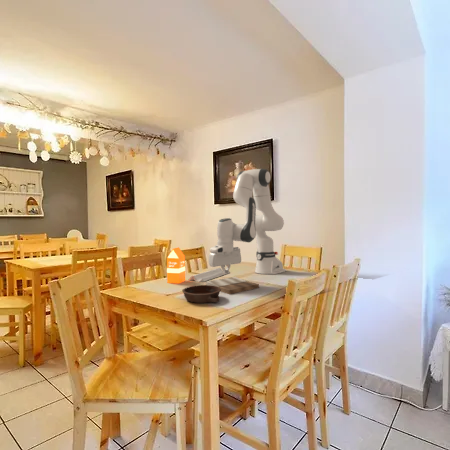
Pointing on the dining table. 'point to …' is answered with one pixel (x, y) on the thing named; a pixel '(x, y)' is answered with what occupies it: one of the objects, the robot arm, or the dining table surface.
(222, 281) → the grey striped panel
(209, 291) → the dish
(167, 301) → the dining table surface
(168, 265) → the orange juice
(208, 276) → the crown molding
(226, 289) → the walnut floorboard
